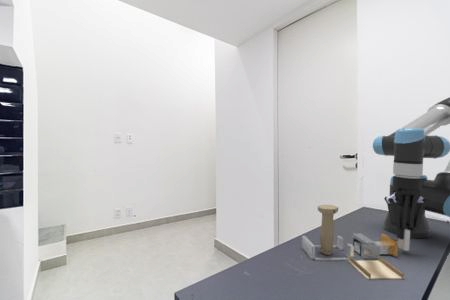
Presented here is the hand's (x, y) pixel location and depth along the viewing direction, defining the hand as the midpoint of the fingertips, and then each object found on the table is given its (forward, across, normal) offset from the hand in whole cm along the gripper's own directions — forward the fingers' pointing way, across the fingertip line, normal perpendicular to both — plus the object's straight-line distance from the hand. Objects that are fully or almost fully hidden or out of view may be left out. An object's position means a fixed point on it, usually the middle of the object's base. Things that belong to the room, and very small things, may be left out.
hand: (403, 248), depth 77 cm
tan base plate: (+2, +16, +10) cm, 19 cm away
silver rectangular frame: (+2, +25, 0) cm, 25 cm away
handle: (+2, +25, 0) cm, 25 cm away
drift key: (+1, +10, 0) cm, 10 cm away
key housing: (+2, +12, 0) cm, 13 cm away
